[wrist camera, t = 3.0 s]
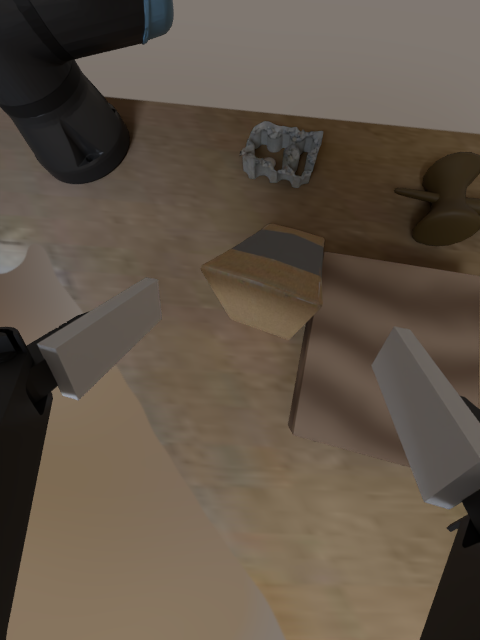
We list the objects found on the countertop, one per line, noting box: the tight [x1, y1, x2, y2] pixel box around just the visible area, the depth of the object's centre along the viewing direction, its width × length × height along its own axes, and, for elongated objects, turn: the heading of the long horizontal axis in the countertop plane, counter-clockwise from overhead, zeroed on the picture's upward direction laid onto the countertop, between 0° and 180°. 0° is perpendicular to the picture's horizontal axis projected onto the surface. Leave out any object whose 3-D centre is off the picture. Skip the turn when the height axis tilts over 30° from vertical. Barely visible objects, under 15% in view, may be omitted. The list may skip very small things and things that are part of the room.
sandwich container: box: [201, 223, 325, 340], centre depth 23 cm, size 9×15×15 cm, turn 159°
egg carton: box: [240, 121, 323, 188], centre depth 32 cm, size 11×8×4 cm
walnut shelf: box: [288, 252, 480, 467], centre depth 25 cm, size 20×16×4 cm
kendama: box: [394, 152, 480, 246], centre depth 27 cm, size 6×10×20 cm
